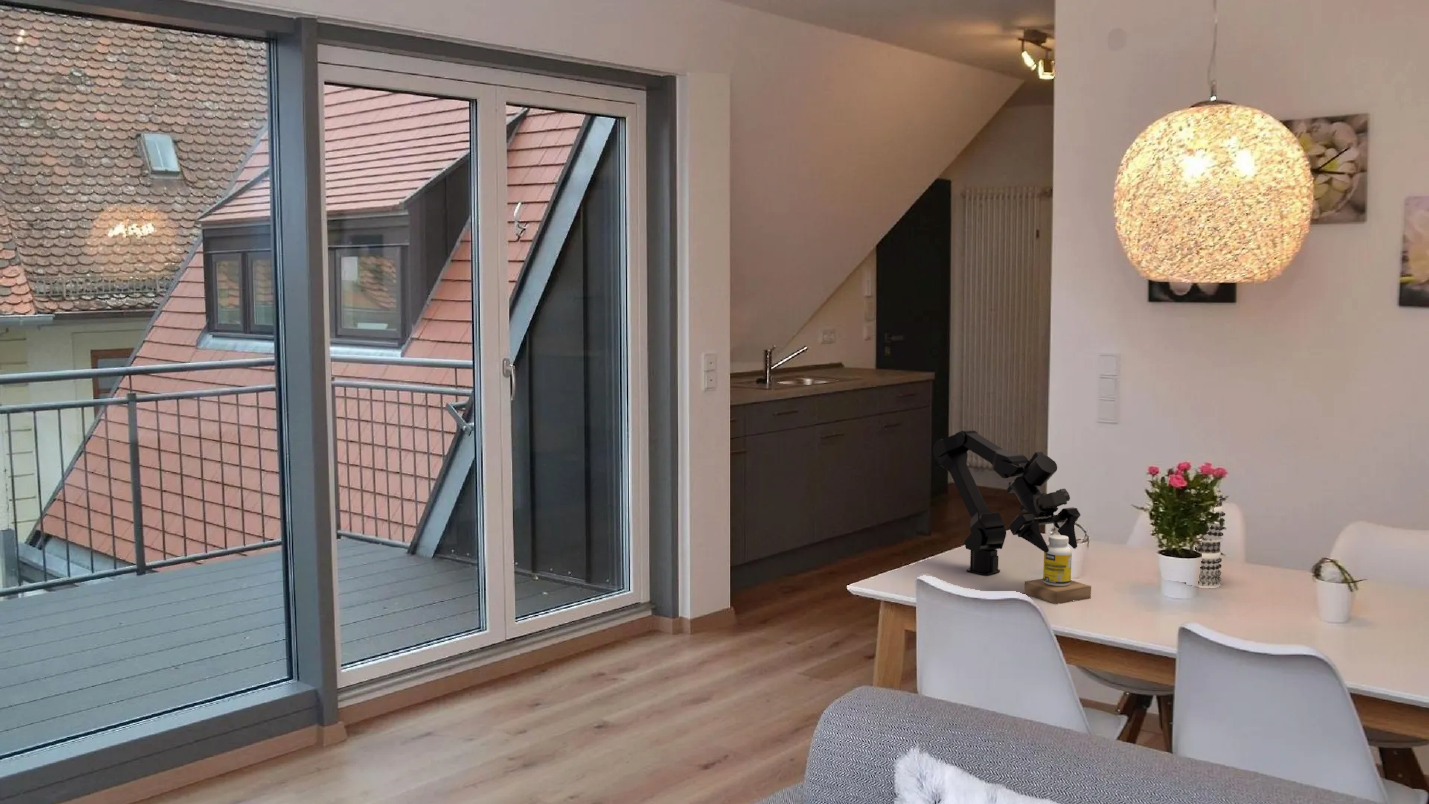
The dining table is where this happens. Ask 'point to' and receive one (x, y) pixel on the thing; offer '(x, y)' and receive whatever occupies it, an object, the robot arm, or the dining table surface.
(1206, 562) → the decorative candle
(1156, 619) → the dining table surface
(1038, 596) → the walnut plinth
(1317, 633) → the dining table surface
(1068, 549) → the pill bottle
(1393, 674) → the dining table surface
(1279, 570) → the dining table surface
